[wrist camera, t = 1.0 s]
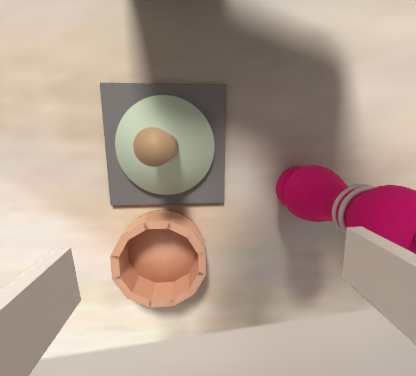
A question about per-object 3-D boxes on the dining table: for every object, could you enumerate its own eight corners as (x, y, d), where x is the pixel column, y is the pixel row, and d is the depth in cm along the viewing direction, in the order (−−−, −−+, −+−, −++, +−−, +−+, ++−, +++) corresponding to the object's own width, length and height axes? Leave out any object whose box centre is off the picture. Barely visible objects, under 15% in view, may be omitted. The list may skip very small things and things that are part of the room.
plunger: (113, 95, 28) (65, 64, 17) (214, 97, 29) (228, 68, 18) (120, 194, 31) (83, 220, 20) (213, 192, 32) (226, 216, 21)
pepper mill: (264, 200, 33) (373, 278, 14) (285, 155, 32) (435, 169, 13) (306, 216, 34) (462, 311, 15) (327, 173, 33) (526, 213, 14)
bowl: (119, 210, 32) (107, 222, 27) (203, 208, 33) (205, 219, 28) (125, 286, 34) (115, 309, 29) (203, 282, 35) (206, 304, 30)
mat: (101, 84, 28) (99, 82, 28) (224, 86, 30) (225, 85, 29) (112, 204, 31) (110, 205, 31) (223, 201, 33) (224, 202, 32)
